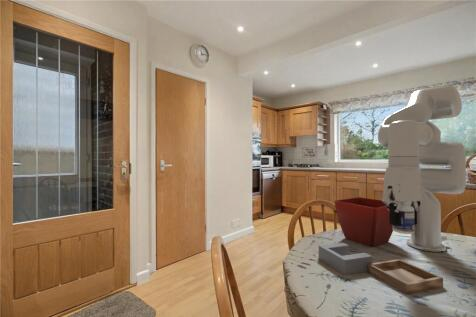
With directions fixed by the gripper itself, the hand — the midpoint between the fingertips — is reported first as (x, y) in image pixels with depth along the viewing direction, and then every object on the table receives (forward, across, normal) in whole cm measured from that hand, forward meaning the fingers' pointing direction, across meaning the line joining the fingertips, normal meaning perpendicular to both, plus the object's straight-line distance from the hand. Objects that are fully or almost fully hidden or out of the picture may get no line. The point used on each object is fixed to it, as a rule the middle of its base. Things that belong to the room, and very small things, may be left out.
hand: (403, 223), depth 71 cm
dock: (+16, +9, -14) cm, 23 cm away
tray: (+16, 0, 0) cm, 16 cm away
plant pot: (+16, -17, -30) cm, 39 cm away
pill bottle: (+3, 0, 0) cm, 3 cm away
